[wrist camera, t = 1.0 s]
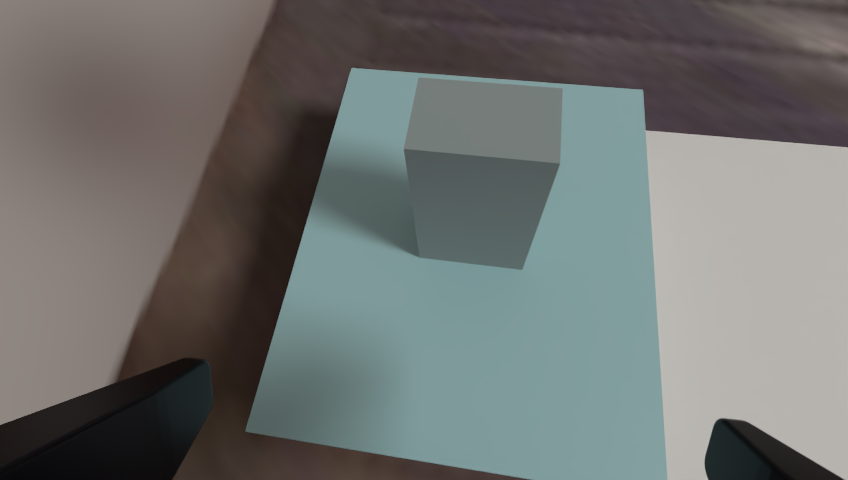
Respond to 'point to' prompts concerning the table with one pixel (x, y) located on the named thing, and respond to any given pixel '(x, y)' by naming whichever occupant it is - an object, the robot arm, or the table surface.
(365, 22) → the table surface
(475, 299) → the teal lid
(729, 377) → the grey mat
